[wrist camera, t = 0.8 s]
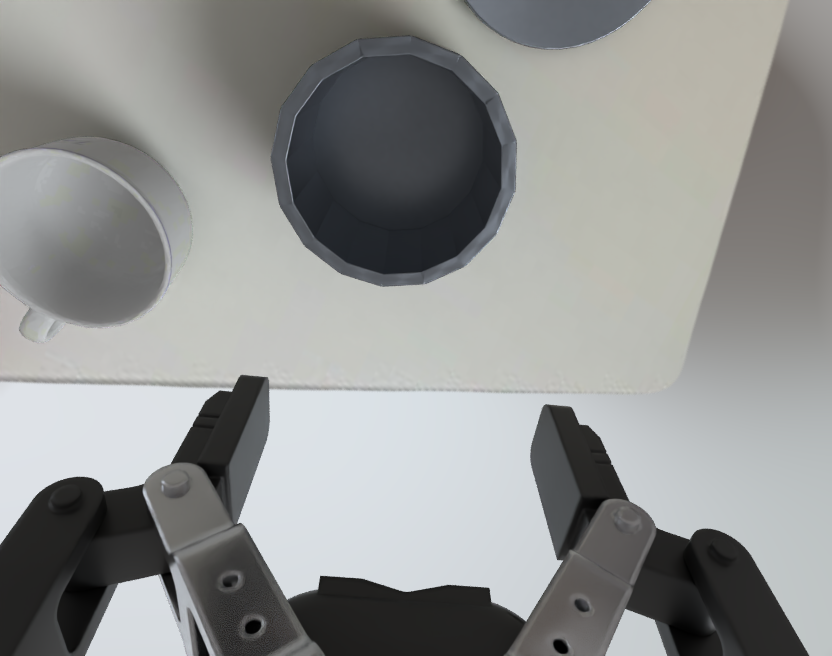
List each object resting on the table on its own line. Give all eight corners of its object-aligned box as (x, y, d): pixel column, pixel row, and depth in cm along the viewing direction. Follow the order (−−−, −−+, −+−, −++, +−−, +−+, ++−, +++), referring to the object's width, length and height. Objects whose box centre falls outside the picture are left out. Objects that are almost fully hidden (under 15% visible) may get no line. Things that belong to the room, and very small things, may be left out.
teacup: (109, 89, 33) (28, 102, 26) (244, 215, 37) (204, 256, 30) (-2, 232, 38) (-97, 275, 31) (129, 332, 42) (71, 391, 35)
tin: (287, 45, 32) (249, 46, 25) (495, 31, 32) (520, 27, 25) (318, 243, 38) (295, 292, 31) (493, 232, 38) (513, 279, 30)
